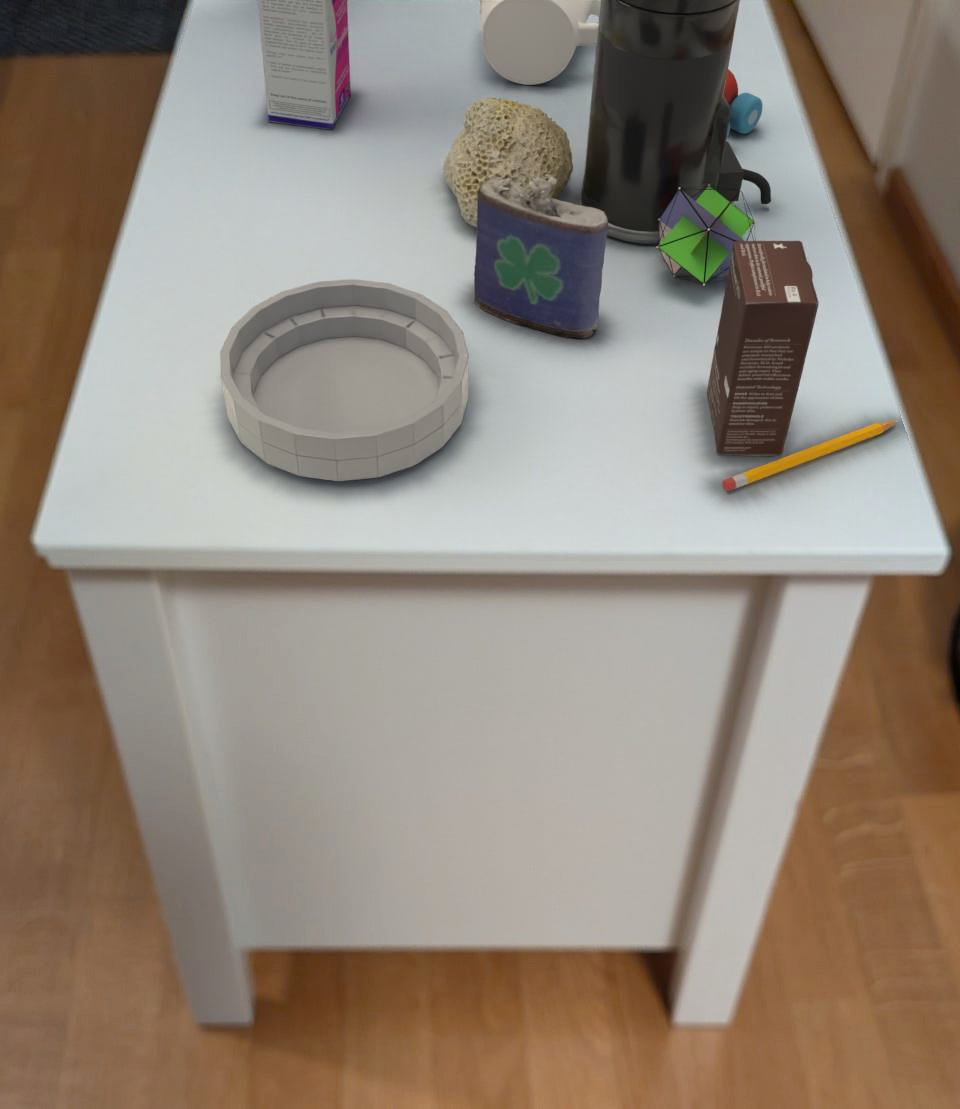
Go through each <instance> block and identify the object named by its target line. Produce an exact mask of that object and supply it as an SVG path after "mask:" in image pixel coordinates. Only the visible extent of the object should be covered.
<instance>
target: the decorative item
mask: <svg viewBox="0 0 960 1109" xmlns="http://www.w3.org/2000/svg"><path fill="white" fill-rule="evenodd" d="M464 116H465V117H464V119H463V121H462V123H463V127H464V128H463V129H462V130H461V131H460V132H459V133H458V134H457V135H456V138H455V139H454V141H453V143H452V146H451V148H450V149H449V151H448V153H447V155H446V156H445V157H444V160H443V164H442V170H443V171H442V172H443V176H444V180H445V182H446V185H447V186H448V187H449V188H450V190H451V191H452V192H453V195H454V196H455V197H456V200H457V205H458V207H459V209H460V216H461V217H462V218H463V219H464V221H465V223H467V224H468V225H471V226H473V227H475V228H476V229H477V207H478V202H477V198H478V191H479V188H480V186H481V185H482V183H483V182H484V181H487V180H490V179H504V180H505V179H507V178H510V179H511V181H513V182H514V183H515V184H516V185H520V186H521V187H523V188H524V189H529V188H530V187H529V182H531V181H533V178H541V179H543V180H546V181H548V180H549V179H548V178H547V177H546V176H545V175H551V176H552V177H553V178H555V179H556V180H557V184H556V185H554V186H552V187H551V189H552V194H551V198H553V199H557V198H558V196H559V194H560V193H561V192H562V191H563V190H564V189H565V188H566V186H568V184H569V182H570V180H571V175H572V173H573V171H574V164H573V154H572V153H573V152H572V148H571V143H570V142H571V141H570V139H569V137H568V135H567V134H568V133H567V131H566V130H565V129H564V128H563V127H561V125H559V124H558V123H557V122H556V121H554V120H553V118H552V117H548V114H547V113H545V112H544V111H543V110H542V109H540V108H539V107H534V106H532V105H529V104H526V103H519V101H518V100H515V101H514V100H511V99H505V98H496V97H485V98H482V99H477V100H475V101H474V103H473V104H472V105H471V106H468V107H467V110H466V112H465V114H464Z"/></svg>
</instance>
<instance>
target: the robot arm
mask: <svg viewBox="0 0 960 1109" xmlns="http://www.w3.org/2000/svg"><path fill="white" fill-rule="evenodd" d="M740 3H741V0H600V11H599V16H598V22H597V23H598V33H597V44H596V45H595V55H594V66H593V76H592V77H593V78H592V87H591V99H590V107H589V108H590V110H589V120H588V131H587V132H588V133H587V141H586V154H585V162H584V163H585V164H584V173H583V178H582V186H581V187H582V188H581V190H580V191H581V194H580V203H579V205H582V206H586V207H593V208H596V209H599V210H601V211H604V212H605V213H606V216H607V218H608V226H609V229H608V234H607V237H611V238H613V239H617V240H621V241H624V242H628V243H634V244H647V245H648V244H657V242H658V243H659V232H658V228H659V220H658V219H659V218H660V217H661V216H662V214H663V213H664V211H665V210H666V208H667V207H668V205H669V204H670V202H671V201H672V199H673V198H674V196H675V195H676V193H677V192H678V190H679V189H678V188H679V187H680V188H687V189H681V190H682V191H683V192H685V193H686V194H687V195H688V196H690V197H692V196H694V195H695V194H696V195H695V196H694V197H692V199H693V200H695V201H696V200H697V199H698V198H699V197H700V195H701V194H702V193H703V192H704V191H705V190H702V191H701V190H698V189H704V188H705V187H707V186H706V185H708V184H710V185H711V187H712V188H714V189H729V188H732V189H734V190H716V191H717V192H718V193H720V194H721V195H722V196H723V197H725V198H726V199H727V200H728V201H731V200H732V199H733V198H734V196H735V195H736V194H737V193H738V192H739V190H736V189H742V184H743V181H747V182H750V183H752V184H754V185H755V186H756V187H757V188H758V189H759V192H760V194H759V196H760V204H762V205H768V204H770V203H771V202H772V191H771V186H770V183H769V182H768V179H767V178H765V177H764V176H763V175H762V174H761V173H758V172H757V171H754V170H749V169H746V168H743V167H742V165H741V163H740V161H739V159H738V158H737V156H736V154H735V152H734V150H733V148H732V146H731V144H730V143H729V141H728V140H726V136H727V131H728V126H729V120H730V107H729V105H728V103H727V102H726V100H725V98H724V96H723V95H724V89H725V83H726V78H727V72H728V69H729V66H730V59H731V54H732V47H733V43H734V38H735V31H736V26H737V25H736V24H737V20H738V15H739V14H738V13H739V8H740ZM697 186H700V187H697ZM714 186H718V187H714ZM688 187H691V188H688ZM721 187H725V188H721ZM705 189H706V188H705ZM700 191H701V192H700ZM698 192H699V193H698ZM697 193H698V194H697ZM740 196H741V192H740V193H739V194H738V195H737V196H736V198H735V199H734V200H733V201H732V203H734V202H739V199H740ZM659 244H660V243H659Z"/></svg>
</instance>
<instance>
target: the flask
mask: <svg viewBox="0 0 960 1109" xmlns="http://www.w3.org/2000/svg"><path fill="white" fill-rule="evenodd" d="M545 176H546V177H547V178H548V179H549V180H548V181H546V180H543V179H541V178H533V181H531V182H529V187H530V188H529V189H524V188H523V187H521V186H520V185H516V184H515V183H514V182H513V181H511V179H510V178H507V179H505V180H504V179H490V180H487V181H484V182H483V183H482V185H481V186H480V188H479V191H478V198H477V202H478V207H477V228H476V242H475V258H474V272H473V276H474V277H473V278H474V279H473V285H474V288H473V289H474V291H473V292H474V303H475V304H476V305H477V307H478V308H480V309H482V310H483V311H486V312H487V313H488V314H489V313H490V314H492V315H494V316H496V317H498V318H500V319H503V320H505V321H508V322H510V323H514V324H518V325H520V326H526V327H529V328H532V329H535V330H539V331H541V332H545V333H550V334H552V335H559V336H561V337H565V338H577V339H586V338H589V337H591V336H592V335H593V334H594V331H597V330H596V329H597V328H598V323H599V311H600V298H601V292H602V285H603V284H602V283H603V269H604V262H605V253H606V245H607V238H608V235H607V234H608V229H609V226H608V218H607V216H606V213H605V212H604V211H601V210H599V209H596V208H593V207H586V206H582V205H580V204H574V203H572V202H568V201H565V200H559V199H557V198H556V199H553V198H551V194H552V189H551V187H552V186H554V185H556V184H557V180H556V179H555V178H553V177H552V176H551V175H545Z"/></svg>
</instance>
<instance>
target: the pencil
mask: <svg viewBox="0 0 960 1109" xmlns="http://www.w3.org/2000/svg"><path fill="white" fill-rule="evenodd" d="M899 422H900V420H896V419H895V420H887V421H879V422H875V423H873V424H870V425H867V426H864V427H862V428H859V429H857V430H854V431H851V432H849V433H845V434H843V435H840V436H838V437H835V438H833V439H829V440H827V441H823V442H821V443H819V444H816V445H813V446H811V447H808V448H806V449H803V450H800V451H798V452H795V453H792V454H789V455H787V456H785V457H782V458H778V459H775V460H774V461H771V462H768V463H765V464H762V465H760V466H757V467H755V468H751V469H750V470H747V471H745V472H741V473H739V474H736V475H734V476H730V477H727V478H725V479H723V480H722V481H721V482H722V488H723V489H724V490H725V491H726V492H727V493H728V492H730V491H733V490H736V489H738V488H741V487H743V486H746V485H749V484H751V483H755V482H757V481H759V480H762V479H764V478H768V477H770V476H773V475H775V474H778V473H780V472H784V471H786V470H789V469H791V468H795V467H797V466H799V465H802V464H805V463H807V462H810V461H813V460H815V459H817V458H821V457H823V456H826V455H828V454H831V453H834V452H836V451H839V450H842V449H844V448H848V447H849V446H852V445H855V444H858V443H860V442H863V441H866V440H868V439H871V438H874V437H875V436H879V435H880V434H883V433H884V432H885V431H887V430H888V429H890V428H891V427H893V426H895V425H896V424H898V423H899Z"/></svg>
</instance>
